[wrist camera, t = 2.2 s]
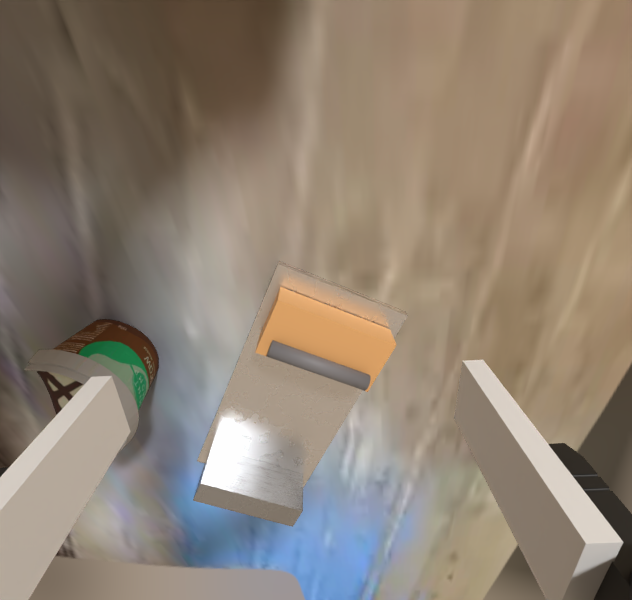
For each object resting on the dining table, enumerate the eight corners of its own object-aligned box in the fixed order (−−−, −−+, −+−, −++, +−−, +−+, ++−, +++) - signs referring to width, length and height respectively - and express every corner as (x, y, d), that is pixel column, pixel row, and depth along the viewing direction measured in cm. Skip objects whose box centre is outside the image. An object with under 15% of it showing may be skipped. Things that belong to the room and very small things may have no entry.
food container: (182, 396, 42) (147, 470, 33) (130, 401, 42) (80, 475, 33) (151, 300, 37) (98, 356, 28) (91, 306, 37) (20, 364, 28)
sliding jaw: (259, 336, 37) (252, 362, 33) (280, 286, 35) (276, 308, 31) (363, 373, 39) (369, 402, 35) (390, 329, 37) (400, 354, 33)
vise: (199, 454, 46) (184, 498, 40) (279, 260, 35) (273, 284, 30) (301, 483, 48) (300, 528, 43) (405, 311, 37) (421, 341, 32)
